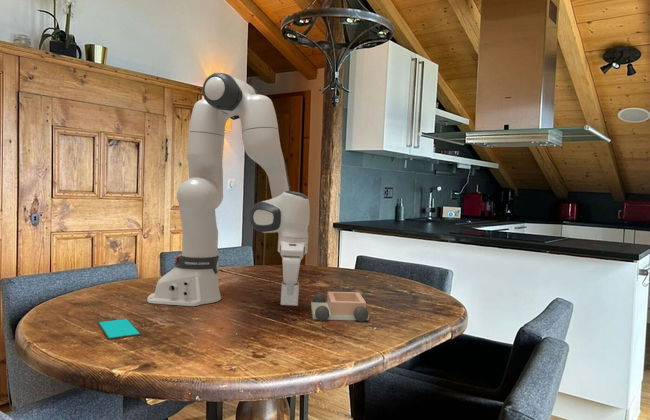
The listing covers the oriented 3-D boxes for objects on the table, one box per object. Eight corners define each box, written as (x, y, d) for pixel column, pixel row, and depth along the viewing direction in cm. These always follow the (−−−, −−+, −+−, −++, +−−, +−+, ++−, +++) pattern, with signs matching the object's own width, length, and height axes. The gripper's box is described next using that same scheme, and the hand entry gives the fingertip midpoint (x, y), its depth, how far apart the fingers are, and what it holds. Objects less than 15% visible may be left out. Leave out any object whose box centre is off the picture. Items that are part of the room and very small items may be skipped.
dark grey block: (280, 304, 135) (281, 282, 135) (281, 301, 139) (282, 279, 139) (297, 305, 136) (299, 283, 135) (297, 302, 140) (299, 280, 139)
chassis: (313, 320, 130) (313, 303, 129) (310, 305, 147) (311, 290, 146) (369, 322, 131) (370, 304, 131) (361, 306, 148) (361, 291, 148)
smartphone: (127, 318, 124) (141, 333, 111) (127, 321, 124) (141, 337, 111) (97, 321, 119) (107, 338, 107) (97, 325, 119) (107, 342, 107)
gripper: (283, 241, 147) (280, 285, 147) (280, 250, 127) (277, 300, 127) (303, 243, 147) (300, 286, 148) (303, 251, 127) (300, 301, 127)
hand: (289, 292), depth 137 cm, fingers closed on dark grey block, 4 cm apart
